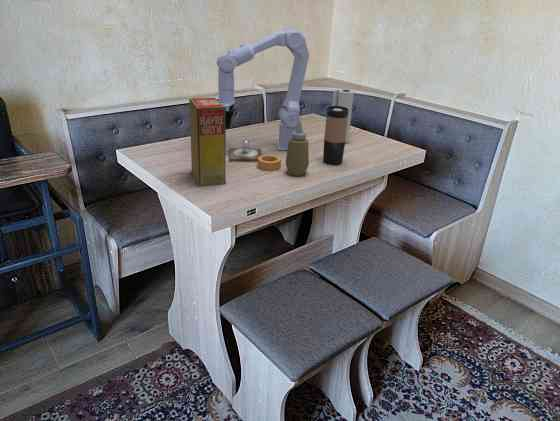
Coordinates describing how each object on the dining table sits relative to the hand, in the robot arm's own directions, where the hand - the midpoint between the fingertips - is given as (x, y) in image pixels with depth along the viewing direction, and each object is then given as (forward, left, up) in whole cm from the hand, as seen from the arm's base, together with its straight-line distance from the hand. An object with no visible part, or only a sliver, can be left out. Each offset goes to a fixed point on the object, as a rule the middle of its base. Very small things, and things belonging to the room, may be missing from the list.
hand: (226, 125), depth 172 cm
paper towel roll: (-47, -12, -10) cm, 49 cm away
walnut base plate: (-7, +6, -10) cm, 14 cm away
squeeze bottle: (-24, +23, -10) cm, 35 cm away
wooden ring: (-15, +17, -10) cm, 25 cm away
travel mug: (-39, +12, -10) cm, 42 cm away
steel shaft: (-7, +6, -10) cm, 14 cm away
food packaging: (+6, +27, -10) cm, 30 cm away
